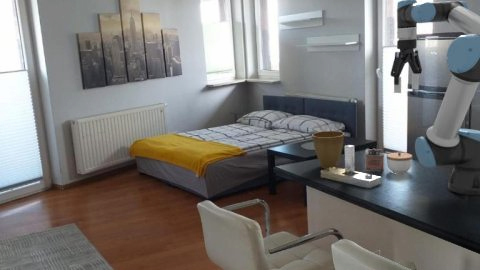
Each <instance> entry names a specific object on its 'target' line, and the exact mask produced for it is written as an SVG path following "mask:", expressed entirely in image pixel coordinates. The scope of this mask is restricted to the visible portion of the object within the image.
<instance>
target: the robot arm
mask: <svg viewBox="0 0 480 270" xmlns="http://www.w3.org/2000/svg"><path fill="white" fill-rule="evenodd" d="M396 20H397V21H396V23H397V27H396V29H397V30H396V35H397V37H396V38H397V39H398V40H397V43H396V49H397V50H399V51H395V52H394V58H393V62H392V66H391V71H390V76H391V77H393V86H394V87H393V93H394V94H401V93H402V77H401V74H402V72H403V69H404V67H405V65H406V64H407V63H408V64H409V68H410V69H411V71H412V73H411V90H419V86H420V82H419V81H420V79H419V78H420V77H419V75H420V74H422V71H423V68H422V65H421V61H420V60H421V59H420V58H419V57H420V56H419V50H418V49H417V41H418V40H417V39H416V38H417V36H418V34H417V32H418V31H417V28H418V27H417V24H428V23H443V22H445V23H449V24H450V25H452V26H453V27H454V28H456V29H457V30H459V31H460V32H461V33H463V34H462V35H459V36H458V37H456V38H454V39H453V40H452V41H451V43H450V44H449V46H448V49H447V52H446V58H447V59H446V64H447V67H448V70H449V72H450V75H451V78H450V81H449V83H448V85H447V88H446V91H445V94H444V97H443V100H442V102H441V105H440V107H439V109H438V111H437V112H438V113H437V115H436V118H435V121H434V123H433V125H432V126H429V127H428V128H427V129H426V132H425V134H424V136H423V135H422V136H420V137H419V136H418V137H417V138H416V140H415V143H414V150H415V155H416V158H417V160H418V162H419V164H421V166H423V167H424V168H438V167H439V168H440V167H447V166H453V169H452V172H451V174H450V176H449V177H450V178H449V180H448V183H447V184H448V185H447V187H448V190H449V191H451V192H454V193H457V194H461V195H467V196H480V130H477V129H470V128H461V126H462V125H463V122H464V119H465V117H466V115H467V113H468V110H469V108H470V106H471V103H472V100H473V99H474V96H475V93H476V91H477V89H478V86H479V84H480V15H478V14H477V13H475V12H473V11H472V10H470V9H469V6H468V4H467V2H465V1H464V0H463V1H462V0H451V1H448V0H447V1H436V2H435V1H434V2H429V1H421V2H420V1H419V3H418V1H417V0H399V1H397V7H396Z"/></svg>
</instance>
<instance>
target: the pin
mask: <svg viewBox="0 0 480 270" xmlns="http://www.w3.org/2000/svg"><path fill="white" fill-rule="evenodd" d="M355 165H356V164H355V145H353V144H347V145H344V169H345V175H348V176H353V175H355V170H356V169H355Z"/></svg>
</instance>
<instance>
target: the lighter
mask: <svg viewBox="0 0 480 270" xmlns="http://www.w3.org/2000/svg"><path fill="white" fill-rule="evenodd" d="M367 150H368V151H367V153H365V171H366V170H367V171H368V172H375V171H383V172H384V171H385V169H384V157H385V155H384V153H383V149H382V148H381V149H380V148H379V149H378V148H372V149H367Z"/></svg>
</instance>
